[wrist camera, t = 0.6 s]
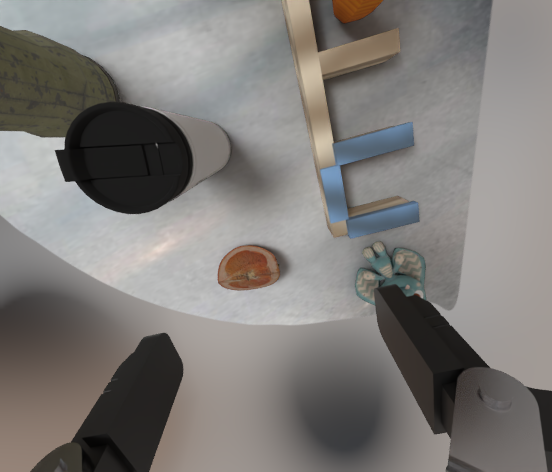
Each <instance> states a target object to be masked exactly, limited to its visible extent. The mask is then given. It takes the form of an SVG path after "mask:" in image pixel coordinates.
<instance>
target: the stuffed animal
mask: <svg viewBox="0 0 552 472" xmlns="http://www.w3.org/2000/svg"><path fill="white" fill-rule="evenodd" d="M372 247H373V249H374V250H375V252H376V253H377V254H378V255H379V257H377V258H376V257H375V254H374V252H373V250H372V248H370V247H367V248H365V249H364V250H363V251H362V253H363V255H364V257H365V258H366V259H367V260H368V261H369V262H370V263H371V265H372V267H373V268H374V269H375V270H376V271H377V272H378V273H380V275H377V274H376V273H375V272H374V271H371V270H367V269H363V268H360V269H359V271H358V273H357V278H356V283H355V288H356V293H357V296H359V297H360V298H361V299H362V300H364V301H366V302H368V303H371V304H373V305H375V298H374V288H378V287H382V286H387V285H392V284H397V285H398V286H399V288H400V289H401V290H402V291H403V293H404V294H405V295H406V296H412V295H417V296H419V297H421V298H423V299H424V300H426V296H425V291H424V278H425V268H426V265H425V260H424V258H423V257H422V256H420V255H419V254H418V253H416V252H414V251H410V250H407V249H403V248H395V249H394V253H393V256H392V259H391V261H390V258H389V256H388V255H387V254H386V249H385V247H384V245H383V244H382V242H375V243H374V244H373V245H372ZM396 272H397V273H399V274H401V275H394V273H396ZM383 279H385V281H384V283H383V284H382V285H381V286H380V280H383Z"/></svg>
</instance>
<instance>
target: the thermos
mask: <svg viewBox="0 0 552 472" xmlns="http://www.w3.org/2000/svg"><path fill="white" fill-rule="evenodd" d="M106 102H119V98H118V93H117V89H116V87H115V85H114V83H113V81H112V79H111V77H110V76H109V75H108V74H107V72H106V71H105V70H104V69H103V68H102V66H100V65H99V64H97V63H96V62H95V61H93V60H92V59H90V58H88V57H86V56H83V55H81V54H79V53H78V52H76V51H75V50H74V49H71V48H69V47H67V46H64V45H62V44H60V43H57V42H55V41H53V40H50V39H48V38H46V37H44V36H41V35H38V34H35V33H32V32H29V31H27V30H18V31H11V30H9V29H6V28H4V27H2V26H0V131H25V132H27V133H30V134H33V135H36V136H40V137H66V134H67V131H68V129H69V127H70V125H71V123H72V122H73V120H74V119H75V118H76V117H77V116H78V115H79V114H80V113H81V112H83V111H84V110H85V109H87V108H88V107H91V106H94V105H96V104H99V103H106Z"/></svg>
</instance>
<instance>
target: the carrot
mask: <svg viewBox="0 0 552 472" xmlns="http://www.w3.org/2000/svg"><path fill="white" fill-rule="evenodd" d="M332 1H333V10H334V15H335V17H336V18H338V19H339V20H340V21H341V22H342V23H348V22H352V21H356V20H359V19H361V18H363V17H365V16H367V15H368V14H370V13H371V12H372V11H373V10H374V9H375V8H376V7H377V6H378V5H379V4H380V3H381V2H382V1H383V0H332Z"/></svg>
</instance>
